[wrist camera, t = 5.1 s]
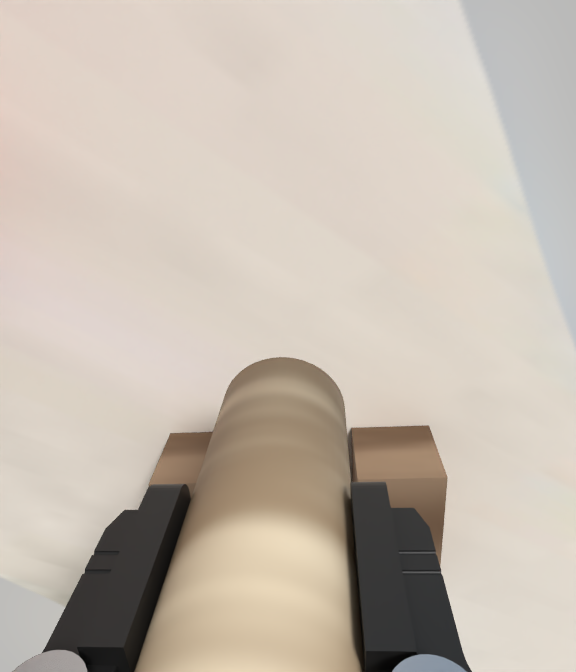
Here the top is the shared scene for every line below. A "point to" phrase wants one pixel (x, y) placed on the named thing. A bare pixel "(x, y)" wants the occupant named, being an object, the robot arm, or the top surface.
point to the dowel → (266, 537)
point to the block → (367, 466)
